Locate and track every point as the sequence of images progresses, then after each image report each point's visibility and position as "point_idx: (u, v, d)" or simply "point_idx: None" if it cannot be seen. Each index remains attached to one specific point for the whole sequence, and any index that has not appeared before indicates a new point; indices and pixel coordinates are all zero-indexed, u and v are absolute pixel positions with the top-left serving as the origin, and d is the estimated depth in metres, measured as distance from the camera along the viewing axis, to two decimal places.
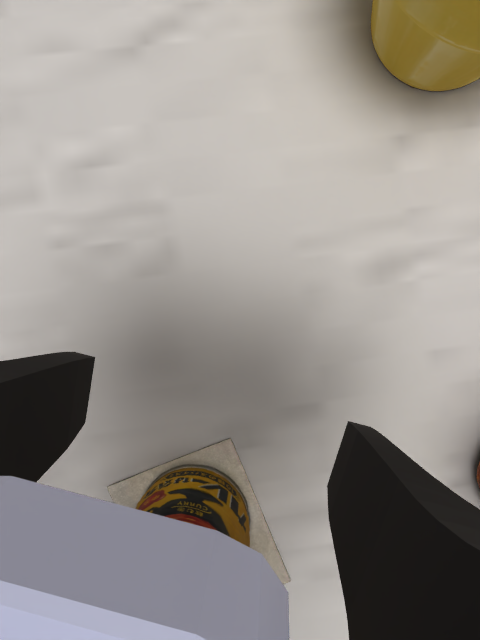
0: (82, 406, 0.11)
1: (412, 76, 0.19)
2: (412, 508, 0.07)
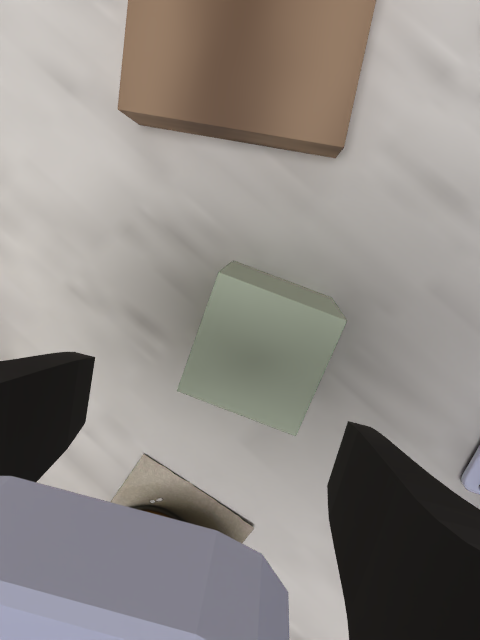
0: (82, 406, 0.11)
1: None
2: (412, 508, 0.07)
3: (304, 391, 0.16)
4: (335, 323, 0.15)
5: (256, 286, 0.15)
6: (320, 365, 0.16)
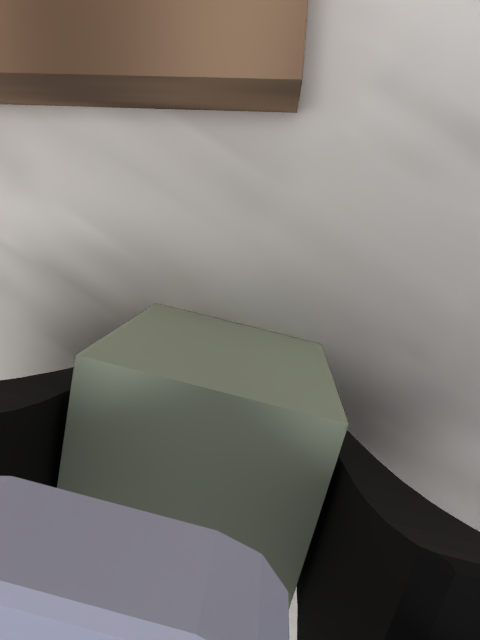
0: None
1: None
2: (351, 492, 0.07)
3: (282, 562, 0.08)
4: (325, 431, 0.07)
5: (156, 373, 0.08)
6: (306, 513, 0.08)
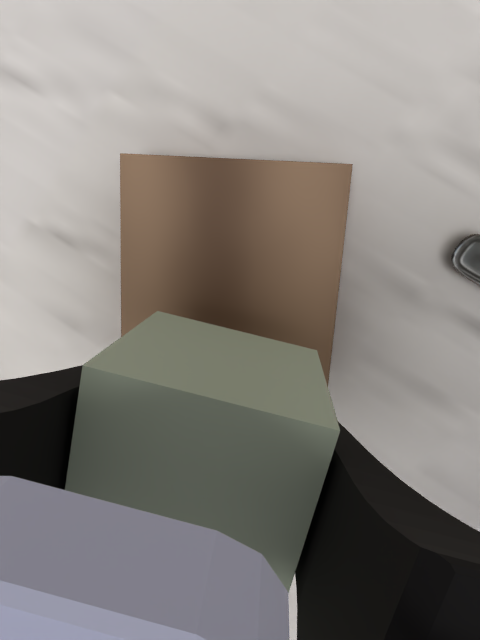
0: None
1: None
2: (350, 492, 0.07)
3: (278, 560, 0.09)
4: (318, 437, 0.08)
5: (158, 383, 0.08)
6: (301, 514, 0.08)
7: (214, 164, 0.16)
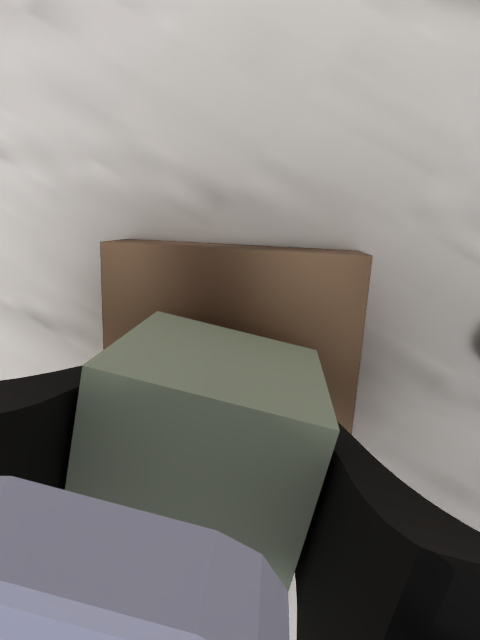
0: None
1: None
2: (350, 492, 0.07)
3: (278, 560, 0.09)
4: (318, 437, 0.08)
5: (158, 383, 0.08)
6: (300, 514, 0.08)
7: (210, 254, 0.14)
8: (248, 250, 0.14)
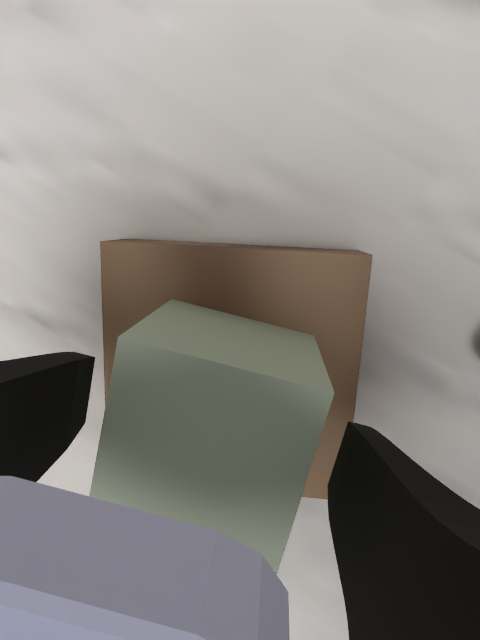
0: (82, 406, 0.11)
1: None
2: (412, 508, 0.07)
3: (281, 506, 0.10)
4: (316, 398, 0.09)
5: (182, 352, 0.09)
6: (300, 465, 0.10)
7: (210, 254, 0.14)
8: (248, 250, 0.14)
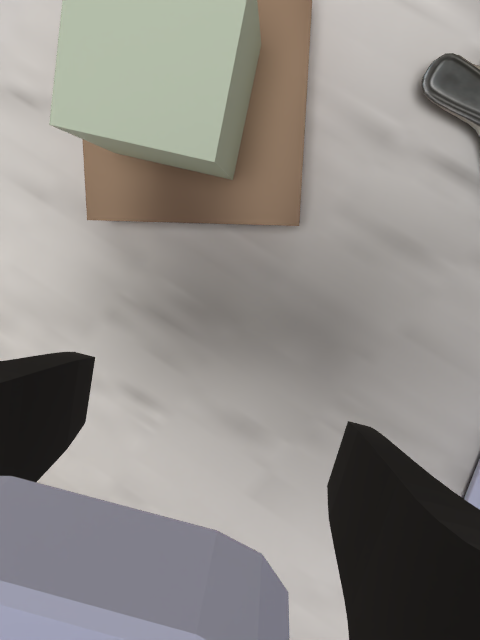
0: (82, 406, 0.11)
1: None
2: (412, 508, 0.07)
3: (214, 89, 0.12)
4: None
5: None
6: (229, 42, 0.11)
7: None
8: None
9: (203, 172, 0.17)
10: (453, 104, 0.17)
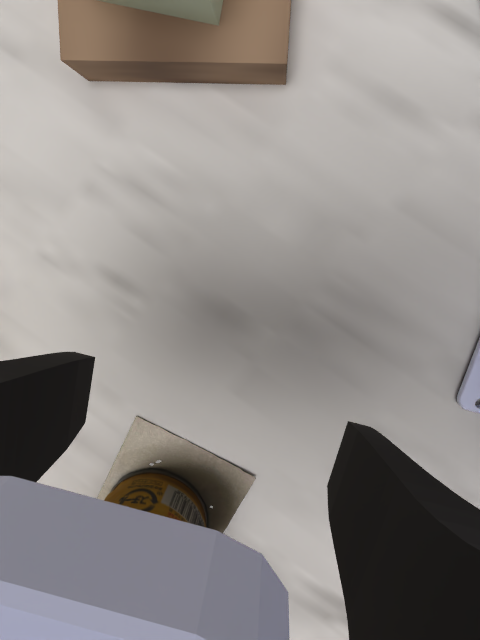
0: (82, 406, 0.11)
1: None
2: (412, 508, 0.07)
3: None
4: None
5: None
6: None
7: None
8: None
9: (186, 13, 0.15)
10: None
